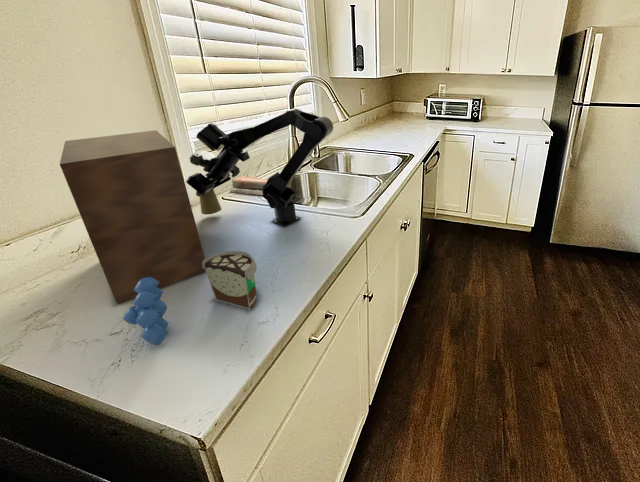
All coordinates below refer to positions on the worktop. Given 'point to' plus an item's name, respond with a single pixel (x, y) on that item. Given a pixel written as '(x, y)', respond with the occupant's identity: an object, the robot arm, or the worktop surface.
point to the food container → (232, 278)
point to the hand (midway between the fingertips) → (203, 192)
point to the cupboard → (134, 209)
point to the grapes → (148, 311)
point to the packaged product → (248, 185)
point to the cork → (209, 203)
